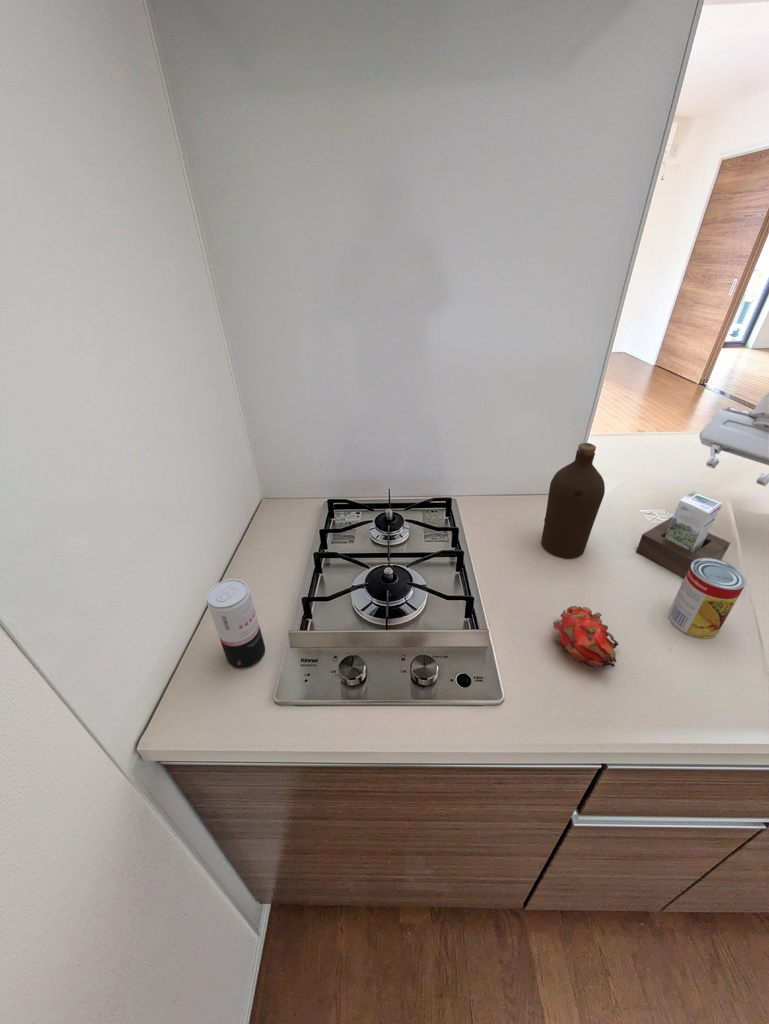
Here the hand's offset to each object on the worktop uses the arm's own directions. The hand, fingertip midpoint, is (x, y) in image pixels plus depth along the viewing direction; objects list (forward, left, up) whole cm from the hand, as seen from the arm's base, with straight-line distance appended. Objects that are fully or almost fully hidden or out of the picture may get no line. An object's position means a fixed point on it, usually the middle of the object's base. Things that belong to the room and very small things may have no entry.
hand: (734, 474), depth 90 cm
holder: (+5, +9, -17) cm, 20 cm away
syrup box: (+5, +9, -17) cm, 20 cm away
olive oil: (+28, +16, -17) cm, 37 cm away
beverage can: (+72, +72, -17) cm, 103 cm away
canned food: (+3, +29, -17) cm, 34 cm away
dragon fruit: (+20, +45, -17) cm, 52 cm away
